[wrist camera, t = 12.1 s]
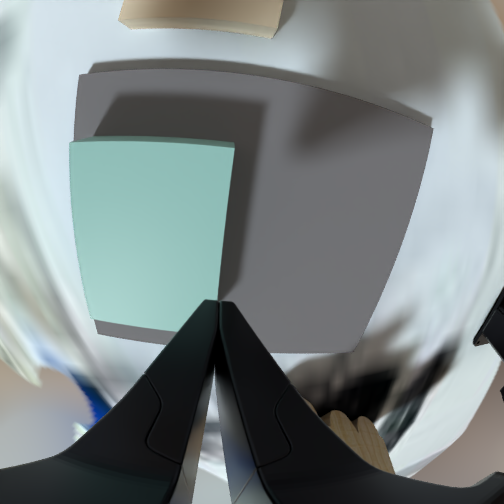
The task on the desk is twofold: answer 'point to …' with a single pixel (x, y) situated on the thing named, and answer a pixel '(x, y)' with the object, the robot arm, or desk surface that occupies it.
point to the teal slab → (149, 225)
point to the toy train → (359, 438)
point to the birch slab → (204, 15)
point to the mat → (281, 193)
